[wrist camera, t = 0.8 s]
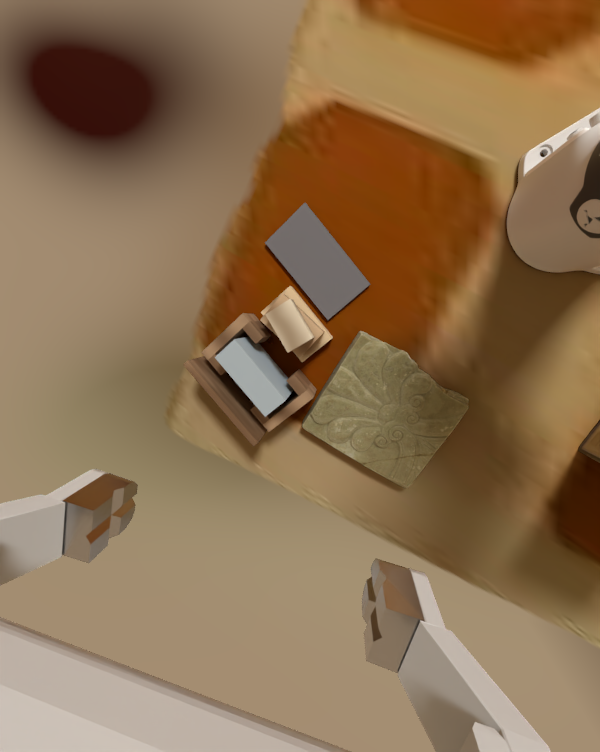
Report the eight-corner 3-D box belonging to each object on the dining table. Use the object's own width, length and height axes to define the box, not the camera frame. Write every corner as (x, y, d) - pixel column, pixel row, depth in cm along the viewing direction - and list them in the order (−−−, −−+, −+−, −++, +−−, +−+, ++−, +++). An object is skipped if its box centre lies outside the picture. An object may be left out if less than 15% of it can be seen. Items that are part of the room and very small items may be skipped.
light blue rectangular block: (253, 335, 46) (234, 339, 38) (295, 386, 46) (285, 400, 39) (236, 351, 47) (214, 357, 39) (278, 400, 47) (265, 416, 40)
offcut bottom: (293, 287, 44) (290, 285, 41) (333, 337, 44) (332, 338, 42) (265, 312, 45) (260, 312, 43) (304, 360, 46) (302, 362, 43)
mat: (305, 204, 41) (305, 202, 40) (369, 284, 41) (370, 284, 41) (265, 243, 42) (264, 242, 42) (328, 320, 43) (327, 320, 43)
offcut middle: (285, 295, 42) (282, 293, 39) (324, 331, 42) (323, 332, 39) (264, 320, 43) (259, 320, 40) (302, 355, 43) (300, 357, 41)
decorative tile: (403, 482, 47) (408, 495, 44) (301, 421, 48) (298, 429, 44) (474, 391, 42) (485, 398, 39) (360, 325, 43) (362, 326, 40)
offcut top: (293, 299, 39) (290, 298, 37) (314, 336, 40) (312, 338, 37) (269, 314, 40) (265, 314, 38) (291, 350, 41) (287, 352, 38)
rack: (253, 313, 45) (237, 312, 38) (316, 389, 46) (311, 401, 39) (206, 358, 48) (183, 364, 41) (266, 428, 49) (253, 446, 42)
